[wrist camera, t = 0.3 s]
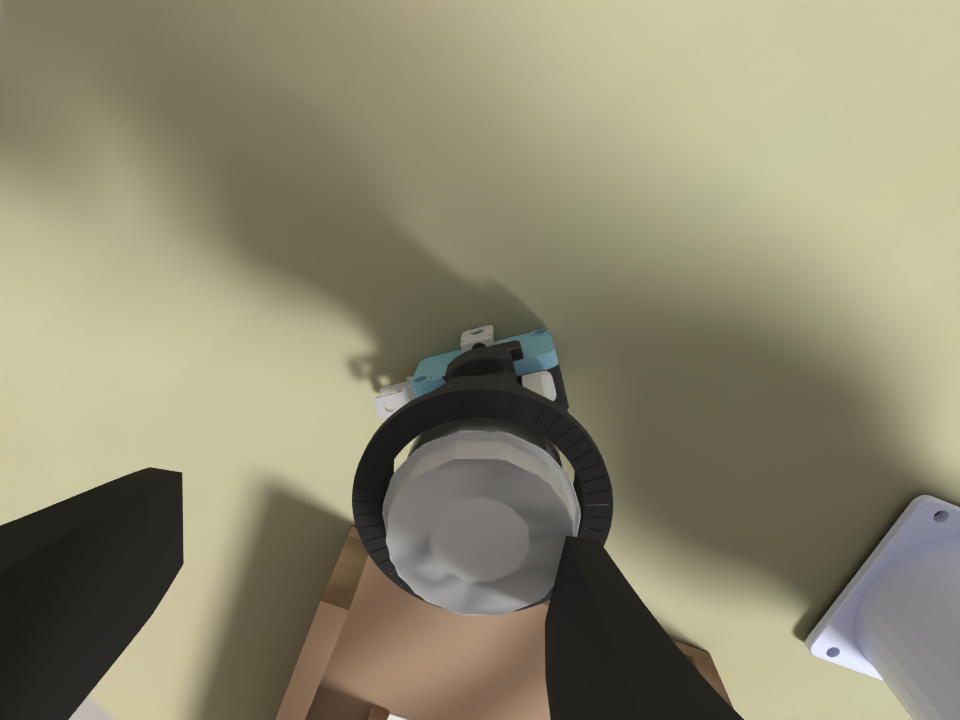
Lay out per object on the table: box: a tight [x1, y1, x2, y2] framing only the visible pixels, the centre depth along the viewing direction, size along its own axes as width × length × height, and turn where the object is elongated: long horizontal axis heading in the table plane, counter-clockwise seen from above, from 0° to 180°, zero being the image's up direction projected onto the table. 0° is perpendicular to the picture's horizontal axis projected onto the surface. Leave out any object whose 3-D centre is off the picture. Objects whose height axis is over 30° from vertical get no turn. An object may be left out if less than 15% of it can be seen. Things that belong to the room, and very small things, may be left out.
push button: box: [352, 325, 613, 615], centre depth 15 cm, size 7×5×10 cm
